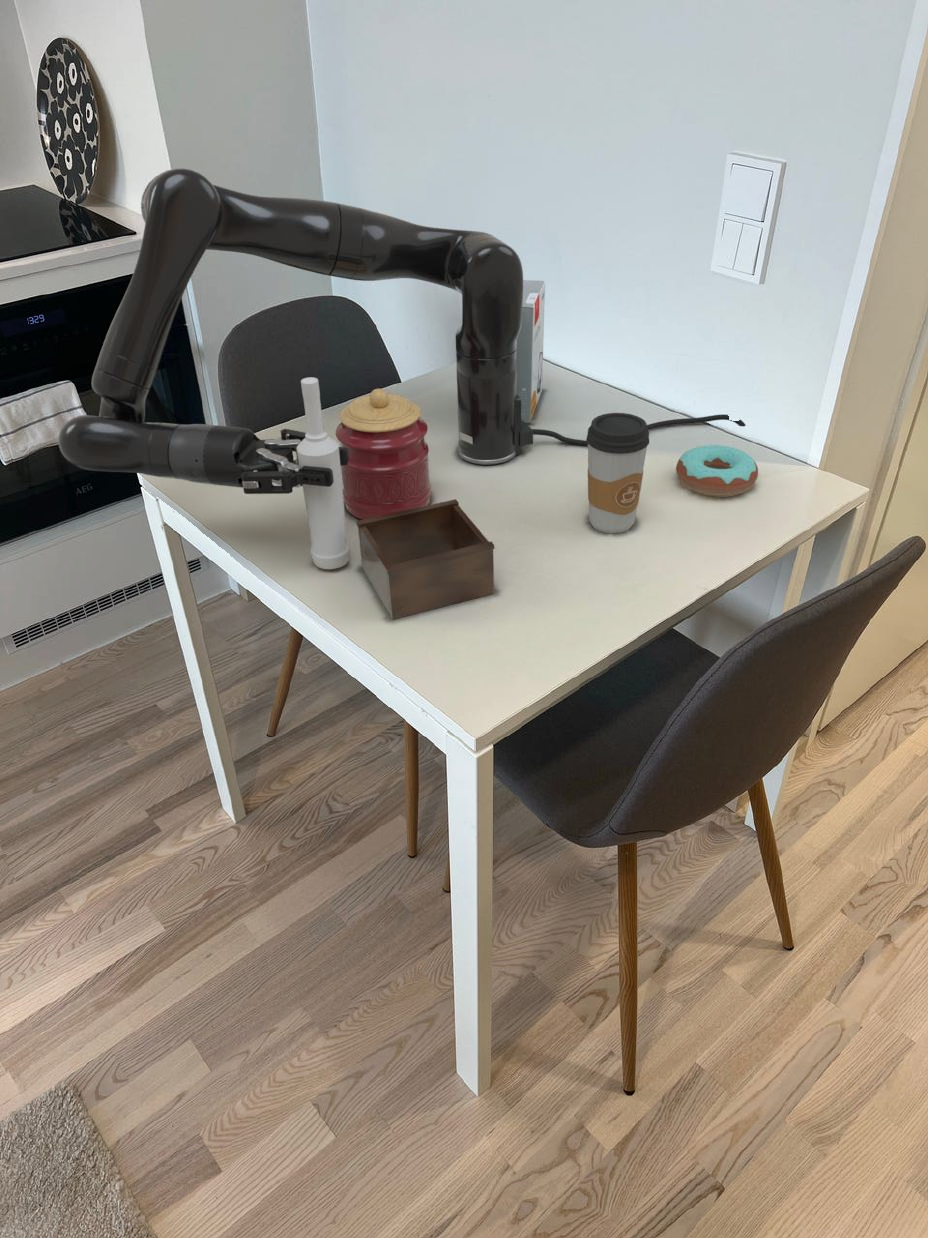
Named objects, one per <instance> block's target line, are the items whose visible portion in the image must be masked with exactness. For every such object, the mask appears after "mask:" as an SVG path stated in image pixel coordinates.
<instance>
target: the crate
mask: <svg viewBox="0 0 928 1238" xmlns="http://www.w3.org/2000/svg"><path fill="white" fill-rule="evenodd" d="M355 523H356V526H357V533H358V541H359V550H360V560H361V569H362V571H363V572H364V574H365V575H366V577H367V579H368V581H369V582H370V583H371V586H372V587H373V589H374V591H375V592H376V594H377V596H378V598H379V599H380V601H381V602H382V604H383V607H385V609H386V611H387V613H388V615H389V616H390V617H391V619H392V620H397V619H400V618H404V617H408V616H413V615H416V614H420V613H424V612H428V611H431V610H436V609H440V608H443V607H448V606H450V605H454V604H460V603H463V602H466V601H471V600H474V599H479V598H482V597H486V596H490V595H494V594H495V590H494V589H495V588H494V587H495V584H494V583H495V580H494V579H495V576H494V575H495V574H494V573H495V572H494V571H495V569H494V550H495V544H494V543H493V541H489V540H488V538H486V536H485V535H484V534H483V533H482V531H480V529H479V528H478V527H477V525H476V524H475V523H474V522H473V521H472V520H471V518H470V517H469V516H468V515H467V514H466V512H465V511H464V510H463V508H461V506H459V501H458V499H456V498H455V499H451V500H446V501H441V502H437V503H432V504H428V505H427V506H423V507H418V508H414V509H409V510H405V511H400V512H396V513H391V514H387V515H382V516H378V517H373V518H369V519H364V520H362V519H359V520H356V522H355Z"/></svg>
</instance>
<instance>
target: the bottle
mask: <svg viewBox="0 0 928 1238" xmlns="http://www.w3.org/2000/svg"><path fill="white" fill-rule="evenodd" d="M319 383H320V381H319V379H318V378H317V377H305V378H304V377H303V378H302V379H301V380H300V385H301V394H302V399H303V406H304V414H305V421H306V429H307V432H305V433H306V434H305V438H304V439H303V440H302V441H301V442H300V443H299V444H298V446H297V454H298V460H299V466H301V469H302V467H303V466H312V467H323V468H330V469H331V470H332V471H333V480H334V482H333V484H332V485H331V486H330V487H326V486H315V485H305V484H303V486H302V492H303V498H304V504H305V510H306V516H307V522H308V528H309V529H308V530H309V534H310V542H311V548H310V555H311V557H312V561H313V564H314V565H315V566H316V567H318V568H320V569H323V570H334V569H339V568H341V567H344V566H345V565H347V563H349V560H350V557H351V547H350V544H349V543H348V538H347V527H346V526H347V524H346V513H345V502H344V499H343V481H342V473H341V465H340V455H339V447H340V445H339V443H338V441H336V440H335V439H333V438H332V437H331V436H329V435H328V432H327V431H326V430H324V421H323V413H322V412H323V411H322V404H321V391H320V384H319Z"/></svg>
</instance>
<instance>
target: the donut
mask: <svg viewBox="0 0 928 1238" xmlns="http://www.w3.org/2000/svg"><path fill="white" fill-rule="evenodd" d="M675 471H676V475H677V479H678V481H679V482H680V483H681V485H683V486H684V487H685V488H687V489H688V490H690V491H693V492H695V493H697V494H700V495H704V496H708V497H716V498H717V497H719V498H725V497H732V496H737V495H740V494H743V493H745V492H747V491H749V490H750V489H751V488H752V487H753V486H754V484H755V483H756V481H757V480H758V477H759V467H758V464H757V462H756V461H755V459H754V458H753V457H752V456H751V455H750V454H748V453H747V452H746V451H743V450H741V449H738V448H735V447H731V446H727V445H721V444H720V445H719V444H710V445H709V444H707V445H701V446H700V445H699V446H696V447H693V448H690V449H688V450H686V451H685V452H684V453H683V454H682V455H681V456H680V457H679V458H678V460H677V463H676V467H675Z"/></svg>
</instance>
